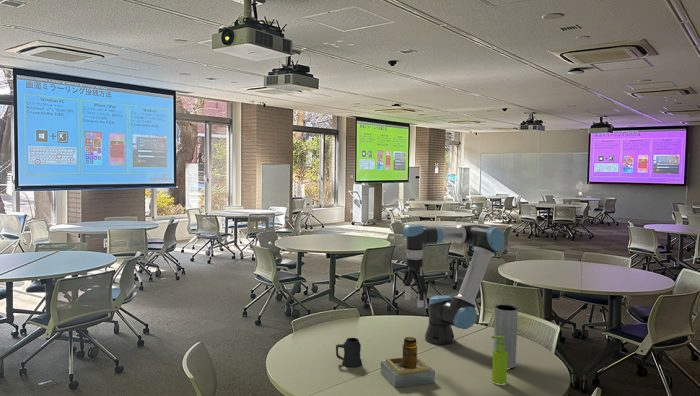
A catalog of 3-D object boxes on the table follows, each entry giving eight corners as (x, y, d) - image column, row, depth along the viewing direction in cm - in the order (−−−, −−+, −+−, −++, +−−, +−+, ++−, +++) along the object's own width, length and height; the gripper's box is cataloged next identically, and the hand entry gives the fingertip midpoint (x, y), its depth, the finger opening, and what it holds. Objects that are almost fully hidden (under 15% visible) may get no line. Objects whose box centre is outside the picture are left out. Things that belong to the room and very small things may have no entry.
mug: (361, 360, 245) (362, 336, 244) (362, 367, 236) (362, 343, 235) (336, 359, 245) (336, 335, 244) (335, 367, 236) (335, 342, 235)
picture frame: (415, 366, 239) (415, 352, 238) (434, 382, 221) (435, 367, 220) (378, 370, 233) (378, 355, 233) (394, 387, 215) (395, 372, 215)
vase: (502, 371, 235) (504, 311, 233) (488, 363, 244) (490, 305, 243) (520, 368, 239) (522, 309, 237) (505, 360, 248) (507, 303, 247)
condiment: (420, 367, 224) (421, 339, 223) (404, 371, 220) (405, 343, 219) (410, 361, 230) (410, 334, 230) (394, 365, 226) (395, 338, 225)
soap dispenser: (487, 380, 225) (489, 333, 224) (503, 379, 225) (504, 333, 224) (492, 385, 219) (494, 338, 218) (508, 385, 219) (510, 338, 218)
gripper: (396, 254, 256) (395, 297, 258) (419, 263, 233) (418, 310, 234) (410, 253, 259) (409, 296, 260) (434, 262, 235) (433, 309, 236)
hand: (413, 303), depth 247 cm, fingers open, 13 cm apart
